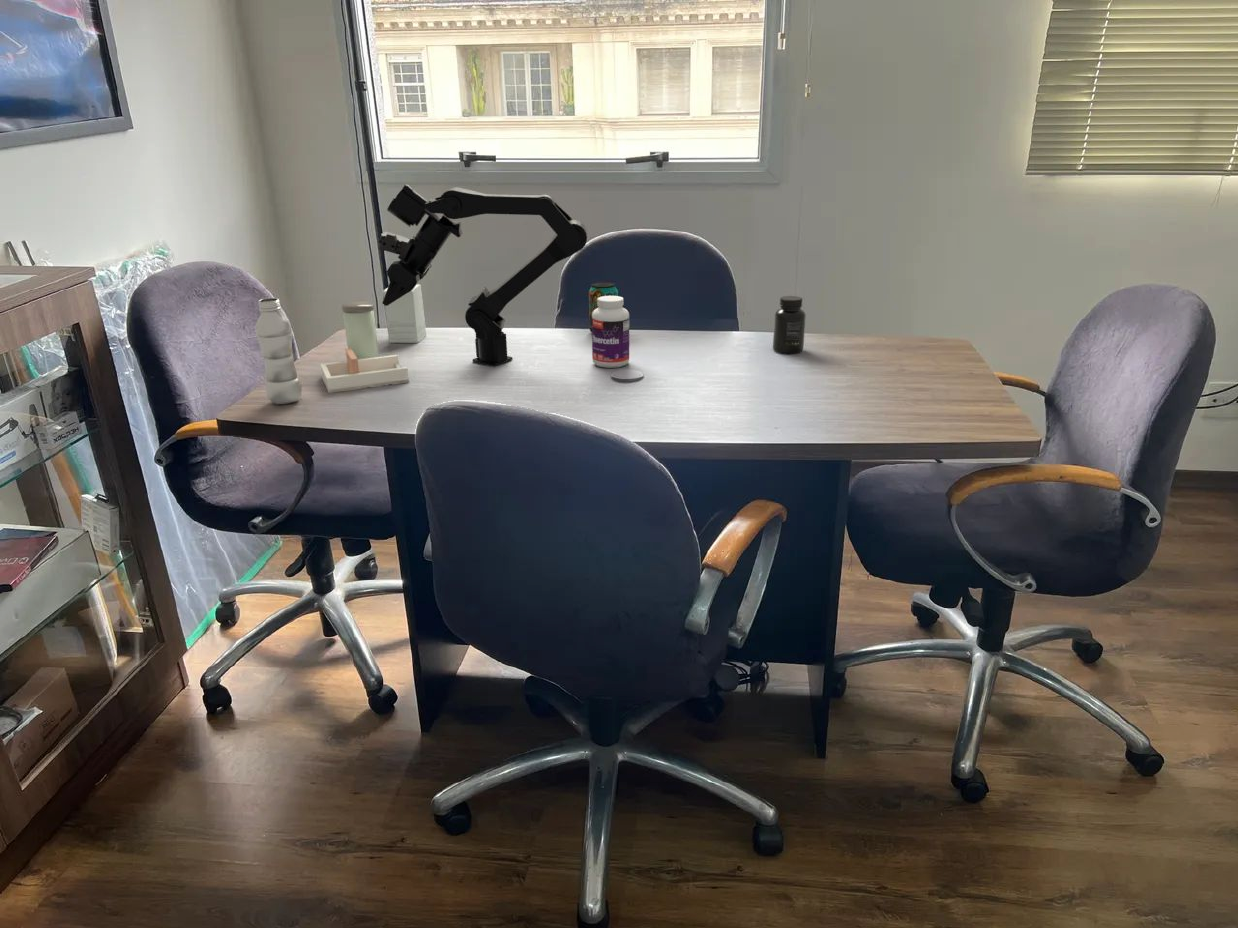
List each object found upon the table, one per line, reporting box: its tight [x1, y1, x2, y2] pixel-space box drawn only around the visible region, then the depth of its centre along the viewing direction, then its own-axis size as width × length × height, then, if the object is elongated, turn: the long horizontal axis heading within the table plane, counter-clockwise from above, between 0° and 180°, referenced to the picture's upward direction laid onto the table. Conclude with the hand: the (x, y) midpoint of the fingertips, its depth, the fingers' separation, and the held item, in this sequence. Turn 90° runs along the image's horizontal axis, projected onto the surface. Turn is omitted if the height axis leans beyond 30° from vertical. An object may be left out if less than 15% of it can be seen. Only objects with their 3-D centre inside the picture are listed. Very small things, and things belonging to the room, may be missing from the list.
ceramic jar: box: [341, 300, 380, 359], centre depth 194 cm, size 7×7×13 cm
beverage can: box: [588, 281, 619, 333], centre depth 215 cm, size 7×7×12 cm
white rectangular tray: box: [319, 354, 410, 394], centre depth 184 cm, size 16×11×3 cm
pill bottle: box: [591, 295, 630, 369], centre depth 191 cm, size 8×8×14 cm
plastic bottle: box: [254, 297, 303, 405], centre depth 168 cm, size 6×7×20 cm
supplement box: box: [381, 284, 427, 344], centre depth 212 cm, size 7×7×13 cm
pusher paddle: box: [345, 348, 359, 374], centre depth 183 cm, size 1×8×5 cm, turn 24°
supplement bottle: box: [772, 295, 807, 355], centre depth 199 cm, size 7×7×12 cm
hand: (389, 299), depth 191 cm, fingers open, 9 cm apart
